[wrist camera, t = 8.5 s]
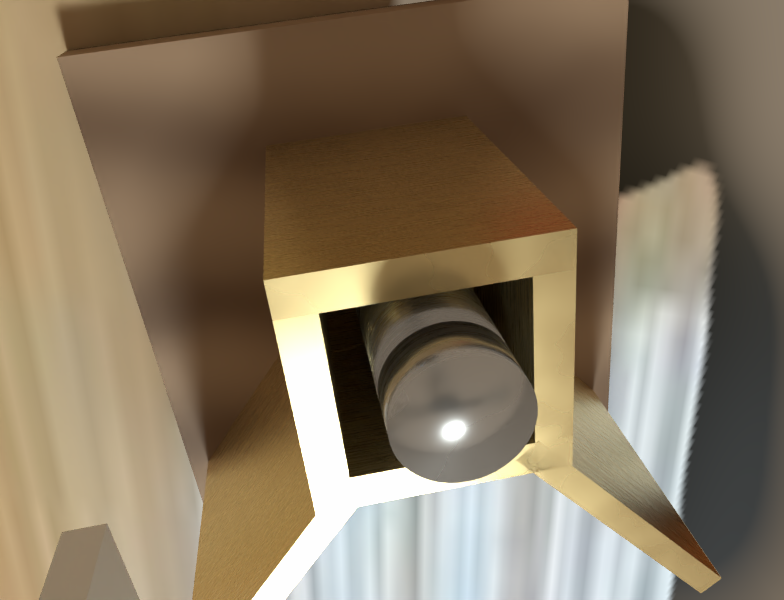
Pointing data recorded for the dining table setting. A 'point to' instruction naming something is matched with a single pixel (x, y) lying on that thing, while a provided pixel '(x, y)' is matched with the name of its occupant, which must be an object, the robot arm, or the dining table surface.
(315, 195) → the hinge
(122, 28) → the dining table surface
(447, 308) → the pin
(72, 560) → the robot arm
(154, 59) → the board
